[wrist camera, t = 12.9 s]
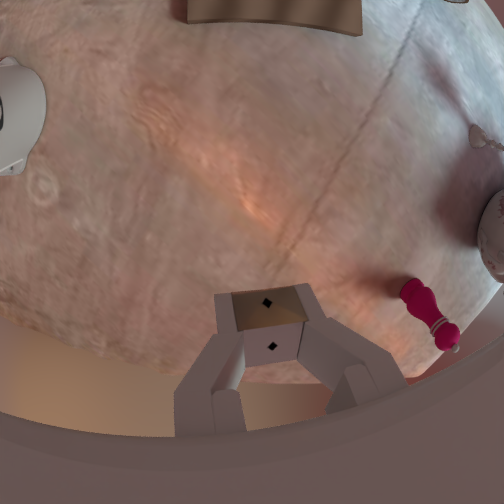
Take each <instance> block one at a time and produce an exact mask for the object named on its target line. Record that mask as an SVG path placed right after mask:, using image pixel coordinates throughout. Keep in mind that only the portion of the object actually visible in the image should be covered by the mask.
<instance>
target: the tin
mask: <svg viewBox="0 0 504 504" xmlns="http://www.w3.org/2000/svg"><path fill="white" fill-rule="evenodd" d="M444 1H447V2H451V3H468V1H469V0H444Z"/></svg>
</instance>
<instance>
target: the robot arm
mask: <svg viewBox="0 0 504 504" xmlns="http://www.w3.org/2000/svg"><path fill="white" fill-rule="evenodd" d="M45 113H46V97H45V91H44V87H43V84H42V82H41V80H40V78H39V77H38V75H37V74H36V73H35V72H34V71H33V70H31V69H29V68H26V67H23V66H21V65H19V64H18V62H17V61H16V60H15V58H14V57H12V56H10V57H6V58H4V59H3V60H2V61H0V176H5V175H18V174H20V173H22V172H23V170H24V168H25V164H26V160H27V156H28V154H29V152H30V150H31V149H32V147H33V146H34V144H35V143H36V141H37V139H38V137H39V135H40V133H41V130H42V127H43V124H44V119H45ZM12 166H13V168H12ZM214 301H215V311H216V321H217V330H218V334H214V335H212V337H211V338H210V340H209V341H208V343H207V344H206V346H205V347H204V349H203V350H202V352H201V353H200V355H199V356H198V358H197V359H196V361H195V362H194V364H193V365H192V366H191V368H190V369H189V371H188V372H187V374H186V375H185V377H184V378H183V380H182V381H181V383H180V384H179V386H178V387H177V389H176V390H175V392H174V422H175V423H174V425H175V437H141V436H123V435H110V434H100V433H93V432H85V431H78V430H72V429H66V428H61V427H56V426H51V425H46V424H42V423H38V422H34V421H30V420H26V419H23V418H19V417H16V416H12V415H9V414H6V413H2V412H0V504H504V333H503V334H502V335H501V336H499V337H498V338H496V339H495V340H493V341H492V342H490V343H489V344H487V345H485V346H484V347H482V348H481V349H479V350H478V351H476V352H474V353H473V354H471V355H469V356H468V357H466V358H464V359H462V360H460V361H459V362H457V363H455V364H453V365H451V366H450V367H448V368H446V369H444V370H442V371H440V372H438V373H436V374H434V375H432V376H430V377H428V378H426V379H423V380H421V381H419V382H417V383H415V384H412V385H410V386H409V385H408V384H407V382H406V380H405V378H404V376H403V375H402V373H401V371H400V369H399V367H398V366H397V364H396V362H395V360H394V359H393V357H392V355H391V353H389V352H388V351H386V350H384V349H383V348H381V347H379V346H378V345H376V344H374V343H373V342H371V341H369V340H368V339H366V338H364V337H363V336H361V335H359V334H358V333H356V332H354V331H353V330H351V329H349V328H348V327H346V326H344V325H343V324H341V323H339V322H338V321H336V320H334V319H333V318H331V317H330V318H326V316H325V314H324V312H323V310H322V308H321V306H320V304H319V302H318V300H317V298H316V296H315V294H314V292H313V290H312V289H311V287H310V285H309V284H308V283H304V284H297V285H292V286H285V287H277V288H269V289H262V290H251V291H240V292H231V293H220V294H214ZM296 359H297V361H298V362H299V363H300V364H301V365H303V366H304V367H305V368H306V369H307V370H308V371H309V372H310V373H312V374H313V375H314V376H315V377H316V378H317V379H318V380H320V381H321V382H322V383H323V384H324V385H325V386H327V387H328V388H329V389H330V390H331V391H333V392H334V393H333V395H332V396H331V398H330V400H329V402H328V404H327V406H326V408H325V411H326V414H327V415H324V416H320V417H316V418H313V419H308V420H304V421H300V422H295V423H291V424H286V425H281V426H276V427H270V428H264V429H258V430H251V431H247V430H246V425H245V420H244V415H243V410H242V405H241V399H240V394H239V392H237V391H236V388H237V386H238V384H239V382H240V379H241V377H242V375H243V373H244V371H245V368H246V367H252V366H258V365H264V364H270V363H276V362H283V361H290V360H296Z"/></svg>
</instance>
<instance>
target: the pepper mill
mask: <svg viewBox="0 0 504 504" xmlns="http://www.w3.org/2000/svg"><path fill="white" fill-rule="evenodd" d="M400 297H401V299H402V300H403V301H404V303H406V304H407V310H408V311H409V313H410V314H411V315H413V316H414V317H416V318H418V319H420V320H422V321H423V322H425V323H426V324H427V325H428V327H429V328H430V334H432V336H433V337H435V345H436V346H437V348H438V349H440V350H442V351H447V350H450V349H451V350H452V352H454V353H455V352H457V351H458V350H459V345H458V344H457V342H458V341H459V338H460V331H459V328H458V327H457V326H456V325H455V324H453V323H450V320H449V319H448V318H447V317H446V316H445V317H444V316H443V315H442V314H441V312H440V311H439V309H438V307H437V304H436V299H435V296H434V293H433V292H432V290H431V289H430V288H428V287H424V284H423V283H422V282H421V281H420V280H419V279H413V280H411V281H409V282H408V283H407V284H406V285H405V286H404V287H403V289H402V290H401V293H400Z"/></svg>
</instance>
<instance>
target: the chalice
mask: <svg viewBox="0 0 504 504" xmlns="http://www.w3.org/2000/svg"><path fill="white" fill-rule="evenodd" d="M469 142H470V145H471V146H472V147H473V148H482V147H484V146H485V145H486V144H489V145H490V146H491V148H494V147H496V148H497V149H498V150H499V151H504V146H502V145H501V143H499V144H497V143H496V142H495V141H494V140H492V141H491V140H488V139H487V136H486V134H485V132H484V131H483V130H482V129H481V128H480V127H479V126H478V125H474V126H473V127H472V128H471V130H470V133H469Z"/></svg>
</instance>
